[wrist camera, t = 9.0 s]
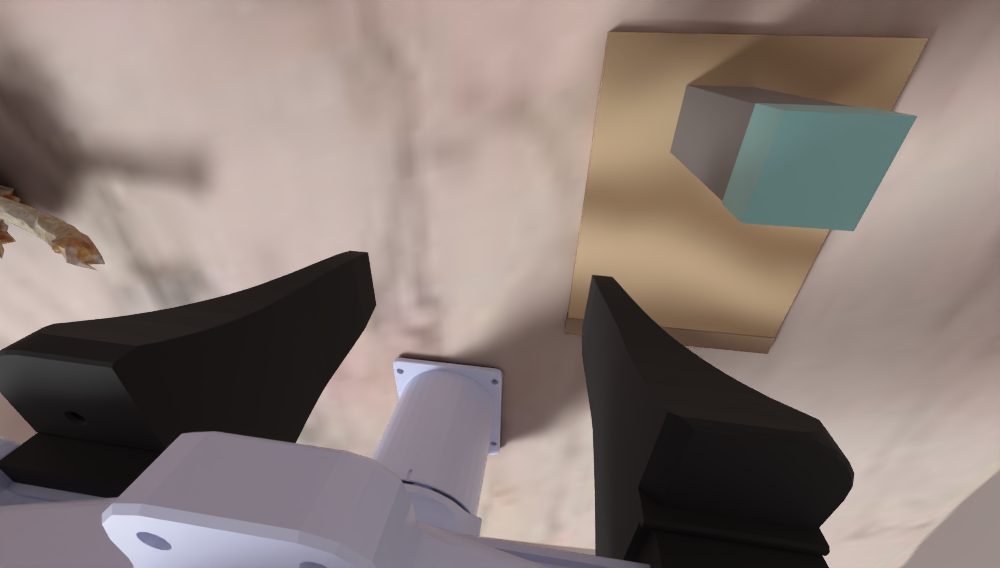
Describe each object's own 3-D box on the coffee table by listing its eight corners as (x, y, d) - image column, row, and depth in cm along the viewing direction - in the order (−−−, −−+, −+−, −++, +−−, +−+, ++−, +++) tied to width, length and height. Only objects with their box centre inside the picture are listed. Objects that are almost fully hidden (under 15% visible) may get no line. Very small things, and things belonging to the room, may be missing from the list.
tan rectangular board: (763, 347, 23) (767, 353, 23) (565, 328, 25) (565, 333, 24) (919, 38, 15) (930, 38, 15) (606, 32, 16) (608, 31, 16)
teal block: (733, 156, 18) (853, 231, 10) (668, 152, 18) (742, 223, 11) (757, 86, 16) (917, 116, 9) (685, 83, 16) (784, 110, 9)
